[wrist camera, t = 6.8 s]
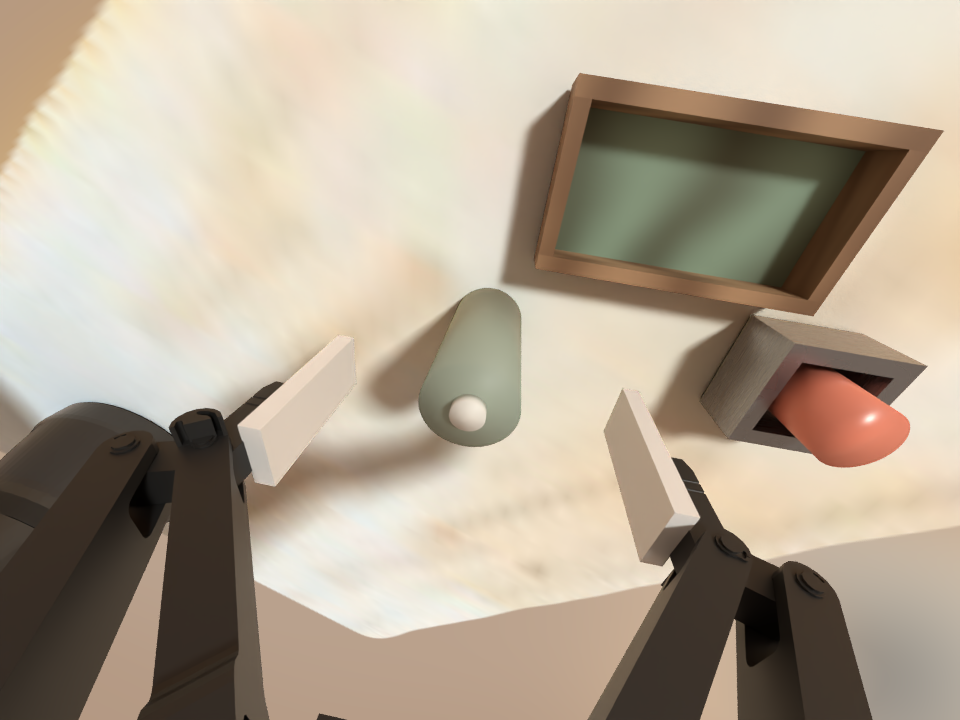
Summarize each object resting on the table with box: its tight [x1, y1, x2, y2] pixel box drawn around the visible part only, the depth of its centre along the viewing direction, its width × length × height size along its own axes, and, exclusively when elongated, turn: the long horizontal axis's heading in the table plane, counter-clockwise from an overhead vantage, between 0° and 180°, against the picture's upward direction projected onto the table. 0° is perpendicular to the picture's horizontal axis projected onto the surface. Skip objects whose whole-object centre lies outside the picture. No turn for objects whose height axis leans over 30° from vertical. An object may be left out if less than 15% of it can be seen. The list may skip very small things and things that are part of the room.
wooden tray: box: [534, 73, 943, 316], centre depth 18 cm, size 16×9×2 cm, turn 82°
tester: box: [700, 315, 927, 454], centre depth 21 cm, size 7×7×4 cm
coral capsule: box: [768, 362, 910, 467], centre depth 20 cm, size 4×4×6 cm
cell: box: [419, 288, 521, 447], centre depth 19 cm, size 5×5×11 cm
